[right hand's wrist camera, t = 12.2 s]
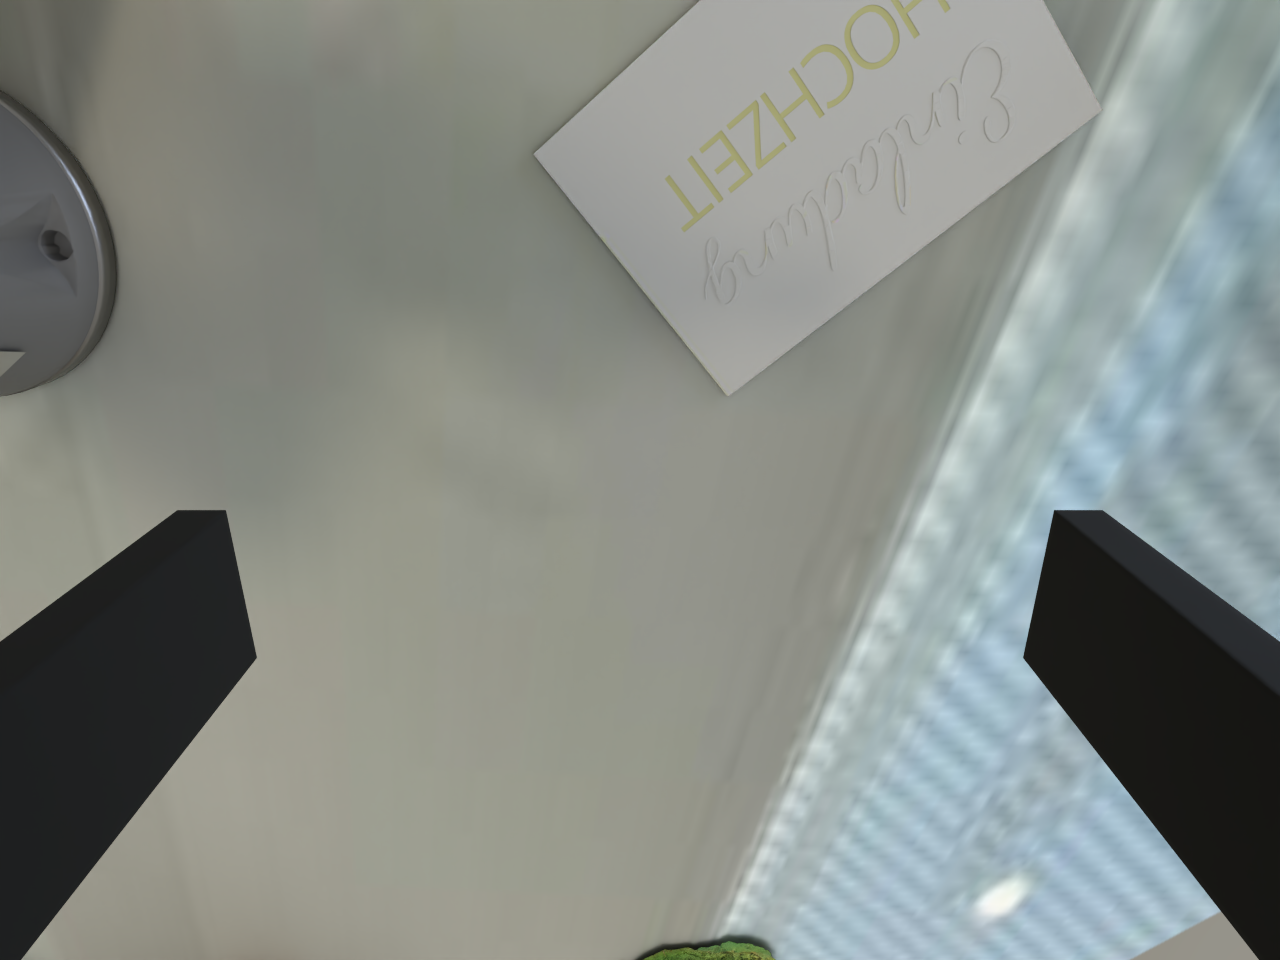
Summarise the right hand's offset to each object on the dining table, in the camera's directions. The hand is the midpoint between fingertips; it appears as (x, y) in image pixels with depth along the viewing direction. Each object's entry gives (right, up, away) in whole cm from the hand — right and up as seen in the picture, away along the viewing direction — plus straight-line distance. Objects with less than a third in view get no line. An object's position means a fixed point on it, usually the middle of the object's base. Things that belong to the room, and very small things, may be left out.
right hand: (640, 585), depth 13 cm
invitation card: (+8, +18, +24) cm, 31 cm away
